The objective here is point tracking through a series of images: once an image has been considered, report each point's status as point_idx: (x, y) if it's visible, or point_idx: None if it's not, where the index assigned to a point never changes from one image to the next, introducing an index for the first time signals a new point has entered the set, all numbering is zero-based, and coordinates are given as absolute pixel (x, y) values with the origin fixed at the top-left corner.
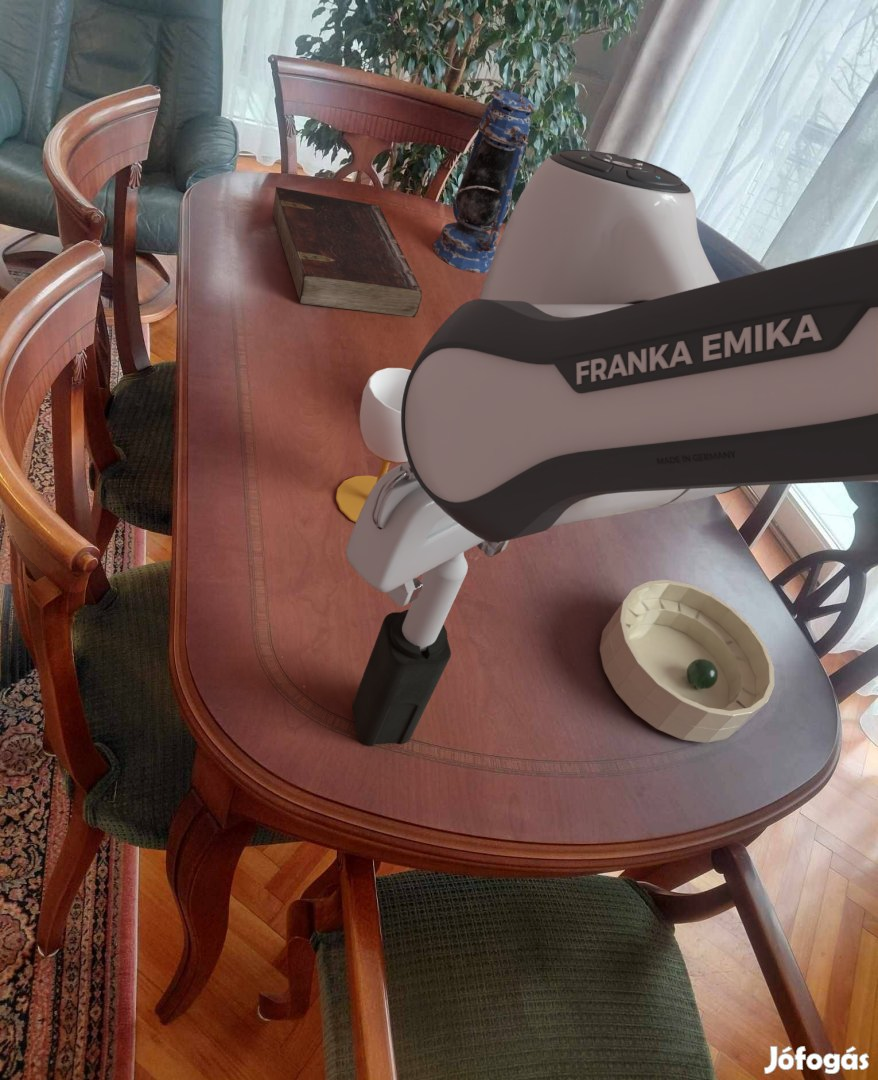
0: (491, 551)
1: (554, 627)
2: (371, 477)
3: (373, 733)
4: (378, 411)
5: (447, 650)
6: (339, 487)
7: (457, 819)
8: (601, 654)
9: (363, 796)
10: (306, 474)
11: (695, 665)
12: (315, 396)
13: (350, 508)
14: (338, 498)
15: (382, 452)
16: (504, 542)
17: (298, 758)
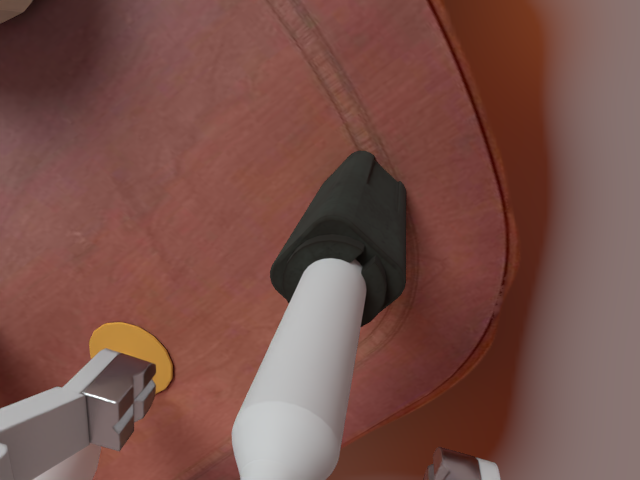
0: (142, 379)
1: (59, 91)
2: None
3: (404, 195)
4: None
5: (320, 227)
6: None
7: (416, 27)
8: (29, 2)
9: (467, 150)
10: (168, 421)
11: None
12: None
13: (161, 372)
14: (163, 387)
15: (91, 443)
16: (92, 385)
17: (472, 237)
